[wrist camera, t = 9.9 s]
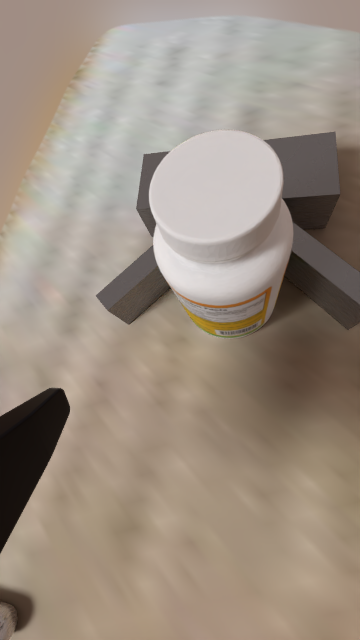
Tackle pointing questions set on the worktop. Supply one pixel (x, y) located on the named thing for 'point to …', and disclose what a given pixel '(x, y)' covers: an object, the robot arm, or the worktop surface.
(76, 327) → the worktop surface
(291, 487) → the worktop surface
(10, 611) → the pin
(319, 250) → the v block
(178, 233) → the supplement bottle
